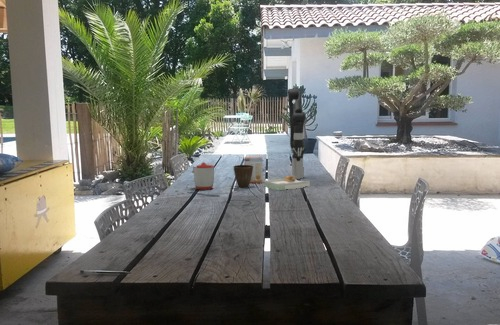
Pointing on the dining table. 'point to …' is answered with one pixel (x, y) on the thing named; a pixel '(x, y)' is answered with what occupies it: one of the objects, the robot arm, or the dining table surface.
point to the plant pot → (243, 175)
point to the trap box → (285, 184)
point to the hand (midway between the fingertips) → (298, 160)
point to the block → (289, 178)
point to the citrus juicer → (203, 176)
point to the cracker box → (255, 168)
